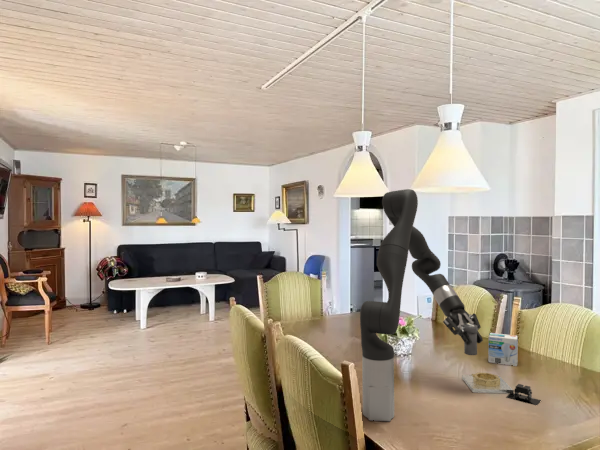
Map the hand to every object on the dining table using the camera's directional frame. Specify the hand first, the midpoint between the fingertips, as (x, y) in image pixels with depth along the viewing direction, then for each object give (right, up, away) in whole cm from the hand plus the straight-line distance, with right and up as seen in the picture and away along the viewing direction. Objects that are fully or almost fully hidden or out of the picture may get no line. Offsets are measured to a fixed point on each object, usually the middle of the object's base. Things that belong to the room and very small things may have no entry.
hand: (475, 342), depth 143 cm
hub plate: (+6, -16, +6) cm, 18 cm away
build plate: (+13, -17, -6) cm, 22 cm away
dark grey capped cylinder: (-1, -4, +2) cm, 5 cm away
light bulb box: (+24, -17, +31) cm, 42 cm away
